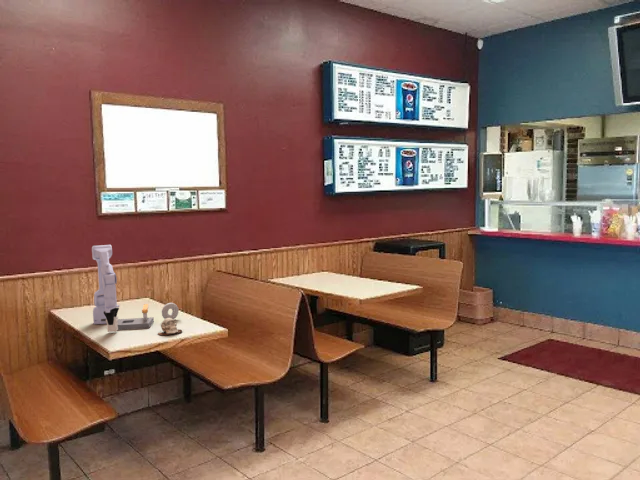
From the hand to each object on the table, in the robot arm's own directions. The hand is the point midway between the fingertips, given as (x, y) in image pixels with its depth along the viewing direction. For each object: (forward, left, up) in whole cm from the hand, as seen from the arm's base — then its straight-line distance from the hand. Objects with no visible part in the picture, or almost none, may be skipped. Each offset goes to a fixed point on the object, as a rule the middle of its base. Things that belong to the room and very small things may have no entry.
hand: (112, 323), depth 281 cm
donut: (+26, +21, -5) cm, 34 cm away
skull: (+30, -6, -5) cm, 31 cm away
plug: (-1, 0, -4) cm, 4 cm away
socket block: (+7, +13, -5) cm, 16 cm away
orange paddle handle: (+13, +20, +2) cm, 24 cm away
